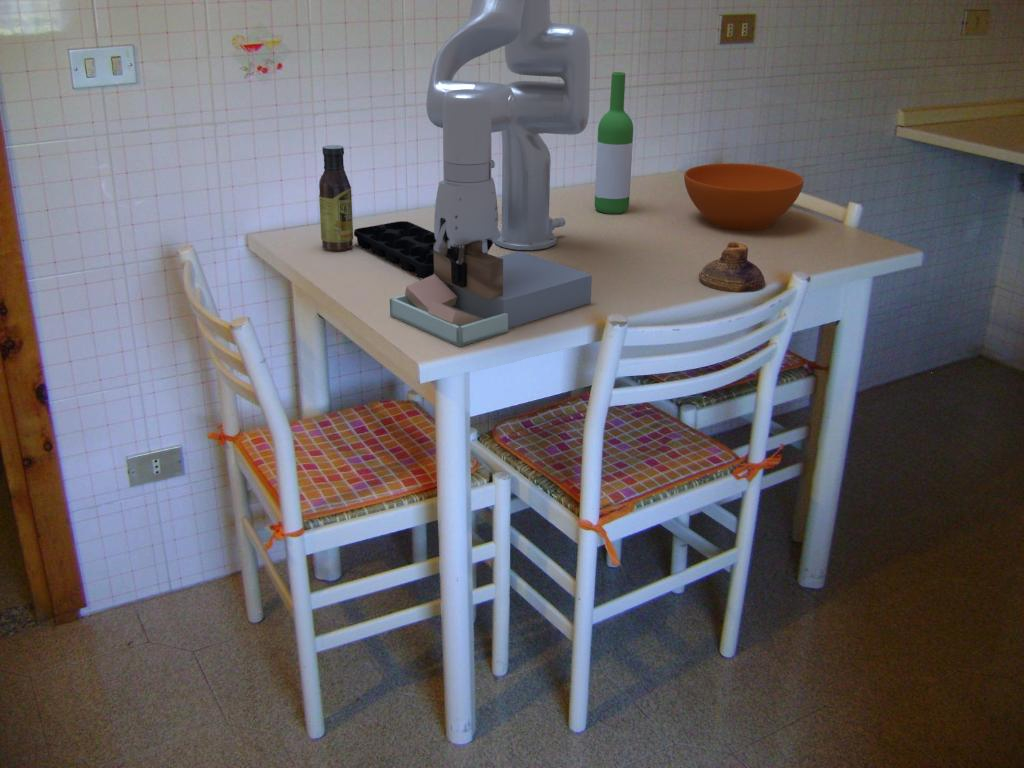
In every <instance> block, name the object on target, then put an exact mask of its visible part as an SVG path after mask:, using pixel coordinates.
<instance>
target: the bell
mask: <svg viewBox="0 0 1024 768" xmlns="http://www.w3.org/2000/svg"><path fill="white" fill-rule="evenodd" d="M748 253H749V248H748V246H747V244H744V243H740V242H737V241H730V242H728V243H727V246H726V247H725V248H724V250H723V251H722V252H721V255H720V256H721V257H719V258H717V259H715V260H712V261H710V262H708V263H707V264H705V266H703V267H702V269H701V270H700V272H699V273H698V279H699V281H700V282H701V284H703V285H704V286H707V287H709V288H711V289H715V290H718V291H723V292H732V293H741V292H754V291H758V290H761V289H762V288H763V286H764V285H765V277H764V274H763V272H762V271H761V269H760V268H759V266H757V265H756V264H755V263H753V262H751V261H749V260H748V258H749V257H748V255H749V254H748Z"/></svg>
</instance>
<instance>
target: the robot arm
mask: <svg viewBox="0 0 1024 768" xmlns="http://www.w3.org/2000/svg"><path fill="white" fill-rule="evenodd" d="M471 2H472V3H471V5H470V6H471V7H470V14H469V17H468V20H467V22H465V23H464V24H463V25H462V26H461V27H460V28H458V29H457V30H456V31H455V32H453V33H452V35H450V37H449V38H448V39H447V40H446V41H445V43H444V44H443V45H442V46H441V48H440V49H439V51H438V52H437V53H436V56H435V57H434V61H433V63H432V67H431V73H430V76H429V83H428V87H427V93H426V106H425V107H426V113H427V114H426V115H427V116H428V119H429V121H430V123H432V124H433V125H434V126H436V127H437V128H441V129H442V147H443V149H442V150H443V151H442V152H443V153H442V159H443V163H442V164H443V166H442V167H443V169H442V170H443V180H440V181H438V186H437V191H436V197H435V206H434V223H433V225H434V227H433V228H434V229H433V230H434V232H433V233H434V235H435V239H436V242H435V245H434V250H435V251H437V252H439V253H442V254H444V255H445V256H446V257H447V258H448V260H449V261H451V279H452V284H454V285H457V286H459V287H462V288H464V287H466V286H467V265H466V264H465V263H463V262H464V252H465V245H467V244H470V243H473V242H477V241H482V252H484V253H487V254H489V251H490V250H491V248H492V247H493V244H496V245H497V246H498V247H501V248H505V249H507V250H515V251H536V250H544V249H548V248H550V247H553V246H554V245H556V243H557V236H556V234H554V233H553V231H554V230H555V229H556V228H557V229H558V228H562V227H565V225H566V219H565V217H563V216H560V217H557V218H554V219H553V218H552V217H550V191H551V190H550V187H551V167H552V166H551V165H552V163H551V162H552V161H551V158H552V157H551V153H550V150H549V148H548V146H547V144H546V143H545V141H544V140H543V138H542V137H541V135H540V134H542V135H543V134H552V135H567V136H571V135H572V136H573V135H579V134H580V133H582V132H583V131H585V129H586V127H588V121H589V117H590V95H591V93H590V86H591V84H590V81H591V76H590V75H591V74H590V73H591V44H590V40H589V35H588V33H587V31H586V29H584V28H583V27H582V26H580V25H578V24H574V23H559V22H558V23H557V22H556V23H555V22H552V21H551V9H550V8H551V7H550V6H551V4H550V3H551V0H472V1H471ZM503 47H504V57H505V58H504V59H505V63H506V66H507V68H508V70H509V71H510V72H512V73H514V74H516V75H522V76H531V77H532V76H534V77H548V78H549V77H550V78H554V77H555V78H561V80H562V81H563V82H554V81H553V82H548V81H540V80H539V81H538V80H537V81H536V80H535V81H534V80H519V81H512V82H509V83H508V84H506V85H505V84H503V83H499V82H486V81H485V82H484V81H469V80H468V81H467V80H454V77H455V75H456V74H457V72H458V71H459V70H460V69H461V68H462V67H463V66H464V65H465V64H468V62H470V61H472V60H474V59H476V58H478V57H481V56H484V55H485V54H488V53H491V52H493V51H495V50H498V49H500V48H503ZM496 132H497V133H498V132H501V146H502V147H501V148H502V149H501V150H502V152H501V154H502V155H501V156H502V157H501V158H502V159H501V161H502V162H501V164H502V165H501V166H502V167H501V171H502V172H501V230H499V228H498V225H499V214H498V212H499V211H498V198H497V197H498V196H497V191H496V186H495V181H494V178H493V177H492V169H493V168H495V166H496V163H495V161H494V159H492V133H496ZM448 240H449V242H448V247H447V246H446V244H447V241H448ZM456 248H457V253H456Z"/></svg>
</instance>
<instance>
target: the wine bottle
mask: <svg viewBox="0 0 1024 768" xmlns="http://www.w3.org/2000/svg"><path fill="white" fill-rule="evenodd" d="M610 79H611V82H610V100H609V109H608V111H607V112H606V113H605V114H604V115H602V117H601V118H600V121H599V123H598V127H597V141H596V142H597V143H596V159H595V160H596V163H595V181H594V182H595V185H594V208H595V209H596V211H597V212H600V213H601V214H610V215H612V214H617V215H618V214H622V213H626V212H627V211H628V210H629V206H630V195H631V179H632V178H631V177H632V160H633V142H634V138H633V137H634V123H633V121H632V119H631V117H630V116H629V114H627V113H626V112H625V94H626V93H625V91H626V89H625V87H626V73H625V72H624V71H613V72H612V73H611V78H610Z"/></svg>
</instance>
